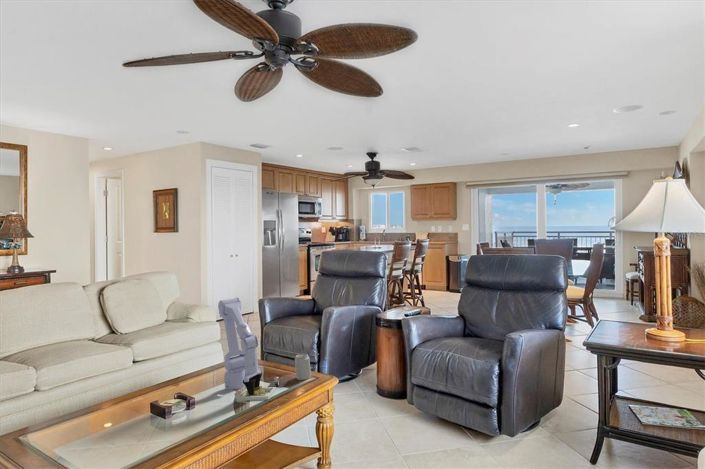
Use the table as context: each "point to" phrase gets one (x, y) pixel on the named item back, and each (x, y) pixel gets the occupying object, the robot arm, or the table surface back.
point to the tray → (242, 398)
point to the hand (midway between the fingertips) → (254, 392)
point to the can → (302, 367)
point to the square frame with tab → (258, 391)
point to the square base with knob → (277, 383)
